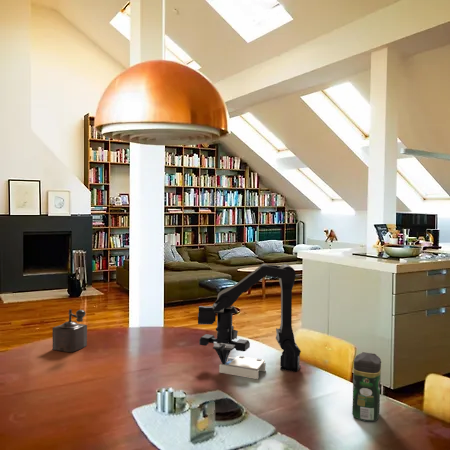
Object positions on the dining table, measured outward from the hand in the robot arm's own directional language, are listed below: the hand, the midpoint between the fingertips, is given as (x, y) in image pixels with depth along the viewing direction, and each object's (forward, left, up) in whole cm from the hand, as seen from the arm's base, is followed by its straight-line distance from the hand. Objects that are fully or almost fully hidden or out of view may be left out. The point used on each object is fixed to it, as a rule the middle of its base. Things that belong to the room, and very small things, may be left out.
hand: (223, 364), depth 182 cm
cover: (-9, 0, +2) cm, 9 cm away
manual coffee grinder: (+66, +6, -2) cm, 66 cm away
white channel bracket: (-8, 0, -1) cm, 8 cm away
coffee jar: (-54, +18, -2) cm, 57 cm away
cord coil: (-4, 0, -1) cm, 4 cm away
